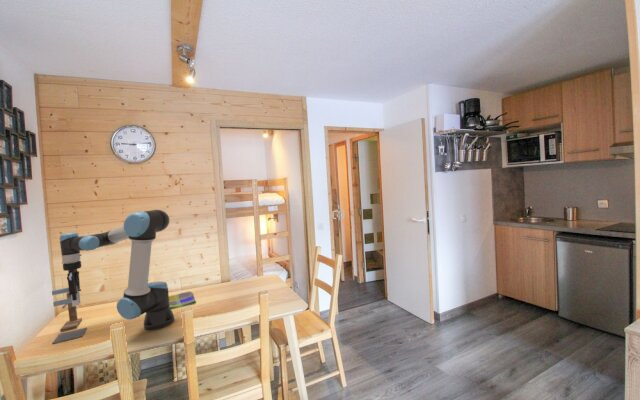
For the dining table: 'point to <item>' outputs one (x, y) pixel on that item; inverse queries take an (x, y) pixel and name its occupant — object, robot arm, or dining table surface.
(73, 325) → the stand
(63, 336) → the mat
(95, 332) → the dining table surface
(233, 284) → the dining table surface
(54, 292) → the c link
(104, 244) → the robot arm
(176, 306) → the green and purple book
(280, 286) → the dining table surface
